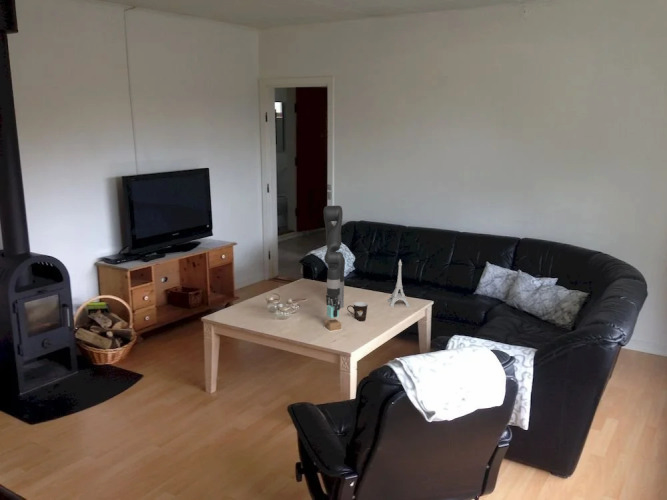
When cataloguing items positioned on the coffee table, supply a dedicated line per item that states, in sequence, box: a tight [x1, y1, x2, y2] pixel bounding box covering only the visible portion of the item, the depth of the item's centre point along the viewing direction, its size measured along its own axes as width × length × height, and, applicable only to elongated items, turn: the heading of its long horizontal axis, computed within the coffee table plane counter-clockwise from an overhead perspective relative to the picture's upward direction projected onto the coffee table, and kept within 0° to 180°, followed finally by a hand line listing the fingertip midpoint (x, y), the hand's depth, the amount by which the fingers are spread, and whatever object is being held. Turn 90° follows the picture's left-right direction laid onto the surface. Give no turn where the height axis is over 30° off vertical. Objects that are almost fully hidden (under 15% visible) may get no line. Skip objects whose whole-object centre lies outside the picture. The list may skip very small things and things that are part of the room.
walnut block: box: [324, 318, 342, 332], centre depth 344 cm, size 7×7×4 cm
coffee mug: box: [347, 301, 369, 322], centre depth 364 cm, size 12×9×10 cm
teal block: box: [326, 304, 340, 319], centre depth 342 cm, size 5×5×6 cm
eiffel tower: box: [386, 259, 411, 308], centre depth 393 cm, size 13×13×30 cm
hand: (332, 314), depth 343 cm, fingers closed on teal block, 5 cm apart
